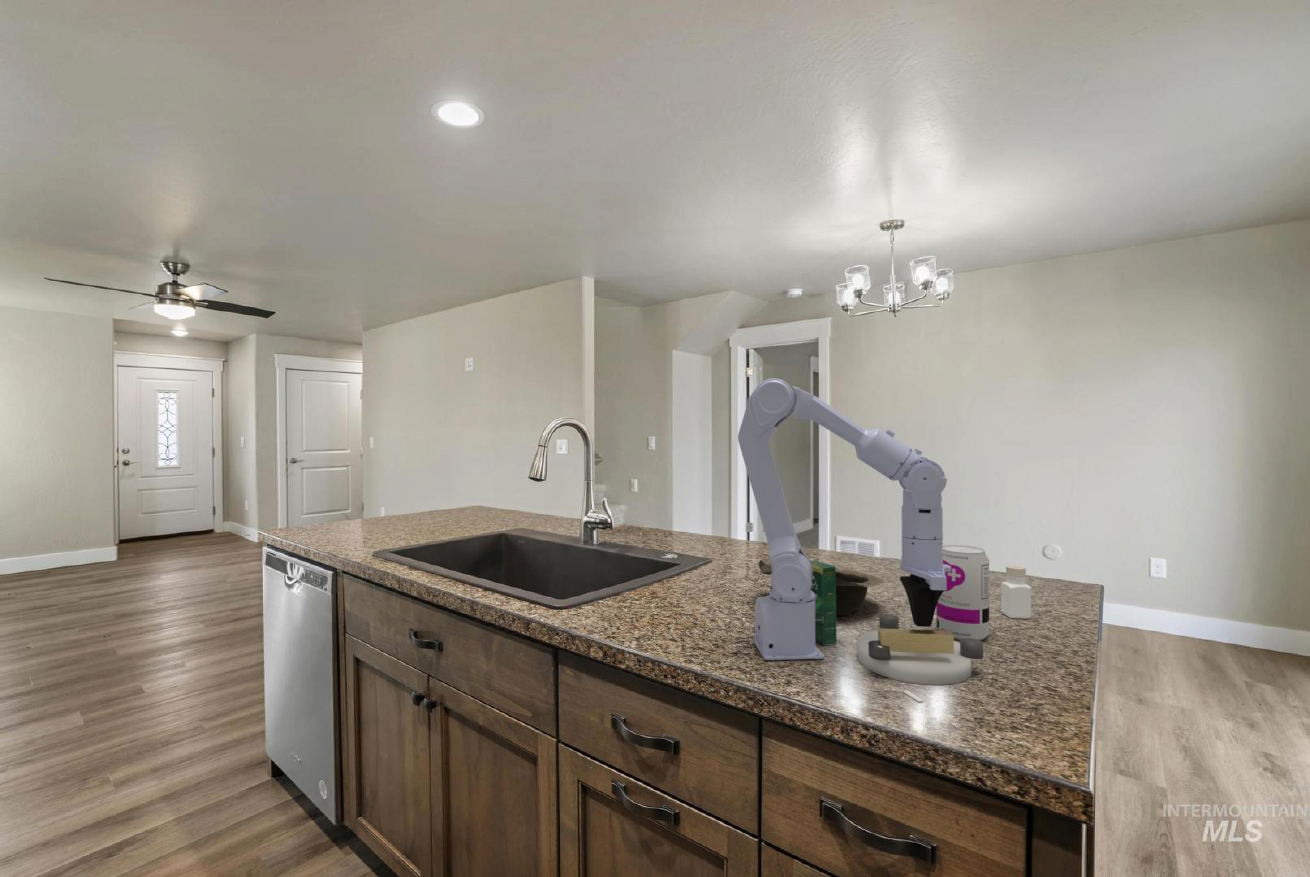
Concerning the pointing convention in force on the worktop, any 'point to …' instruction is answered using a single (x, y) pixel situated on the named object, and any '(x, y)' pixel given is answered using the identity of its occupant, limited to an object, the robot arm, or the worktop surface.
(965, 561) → the supplement can
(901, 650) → the lever
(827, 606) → the coffee box
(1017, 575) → the salt shaker
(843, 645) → the worktop surface
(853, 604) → the stone bowl
